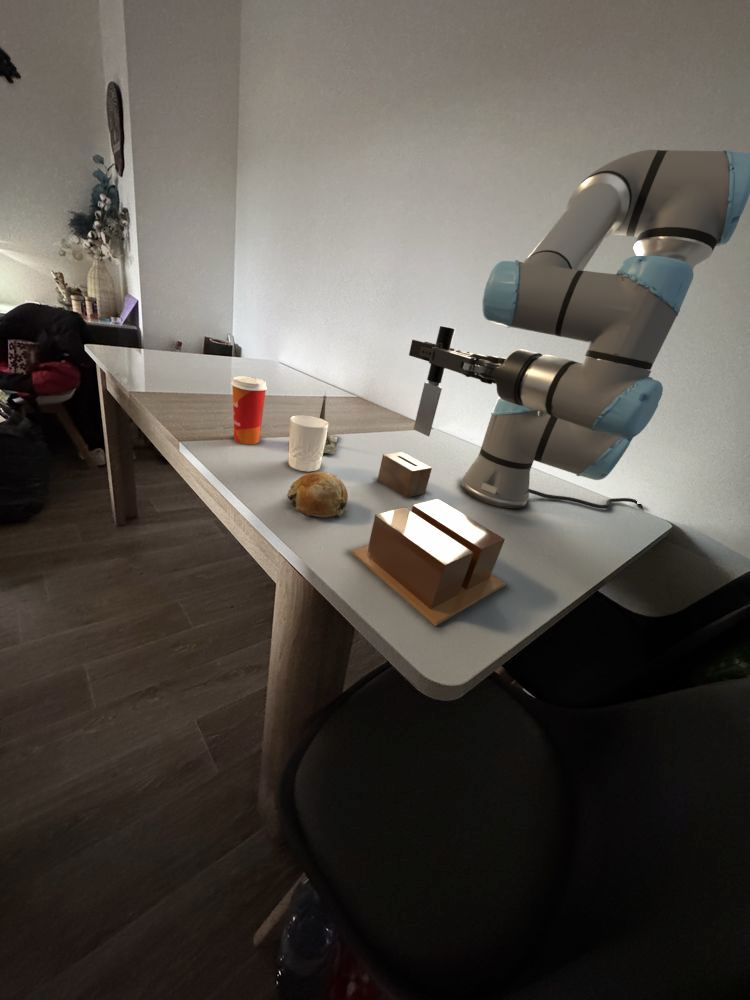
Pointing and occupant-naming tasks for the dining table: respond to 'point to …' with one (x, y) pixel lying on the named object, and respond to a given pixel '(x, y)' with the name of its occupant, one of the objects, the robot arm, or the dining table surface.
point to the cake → (433, 558)
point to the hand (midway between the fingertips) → (418, 348)
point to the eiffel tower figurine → (330, 441)
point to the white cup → (306, 442)
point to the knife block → (404, 474)
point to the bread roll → (318, 495)
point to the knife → (432, 387)
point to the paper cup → (248, 408)
